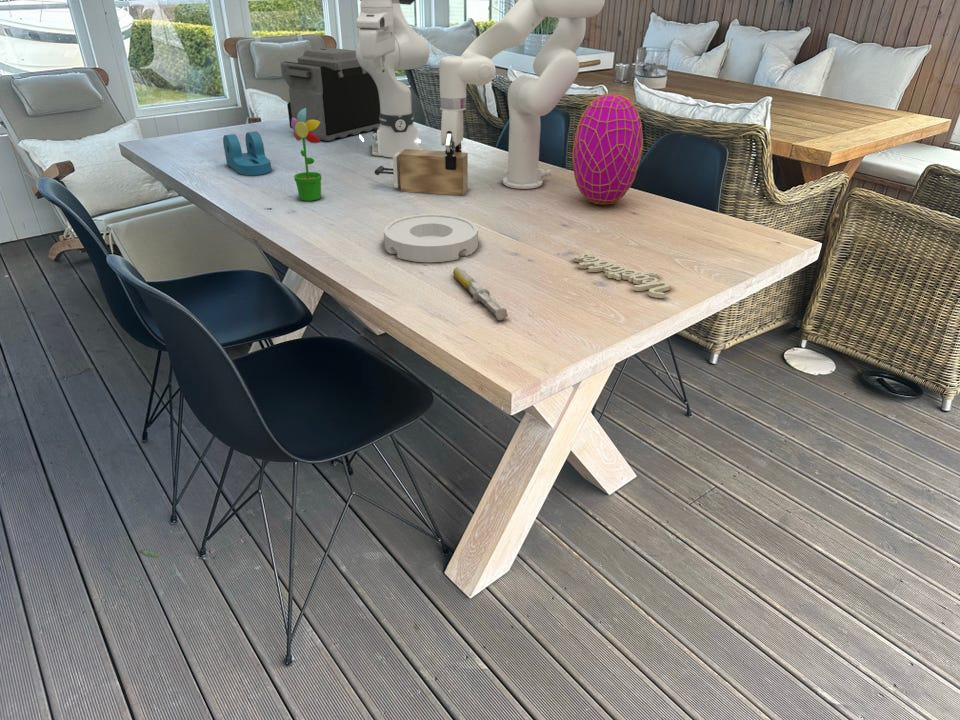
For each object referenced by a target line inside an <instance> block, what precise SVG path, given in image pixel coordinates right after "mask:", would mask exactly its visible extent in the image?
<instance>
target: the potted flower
mask: <svg viewBox="0 0 960 720" xmlns="http://www.w3.org/2000/svg"><path fill="white" fill-rule="evenodd" d="M305 122H306V108H304V109H302V110H301V111H300V112H299V113H298V115H297V120H296V119H295V118H292V121H291V126H292V128H291V129H293V132H292V134H293V137H294V138H295V139H296V141H297V142H300V141H301V140H302V147H303V149H301V150H300V155H301V156H302V157H304V165H305V171H303V172H299V173H296V174H294V175H293V179H294V182H295V185H296V188H297V193H298V197H299V199H300V200H301V201H306V202H311V201H317V200H320V199H321V197H322V180H323V179H322V178H323V177H322V174H321V173H320V172H316V171H309V165H312V164H314V163H315V159H314V158H312V157H308V156H307V148H306V141H307V142H309V143H311V144H318V143H321V142H322V140H320V139H319V138H318V137H317V136H316V135H315V134H313V133H312V132H309V131H313V130H315V129H316V128H317V127H318V126H319V124H320V121H318V120H309V121H307V122H306V123H305ZM294 129H295V131H294Z"/></svg>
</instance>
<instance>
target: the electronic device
mask: <svg viewBox="0 0 960 720" xmlns="http://www.w3.org/2000/svg"><path fill="white" fill-rule="evenodd" d="M279 64H280V71H281V72H280V73H281V76H282V77H283V79H284V81H285V83H286V85H288V95H289V101H288V102H287V104H286V105H287V114H288V122H289V128H290V129H293V128H292V126H291V121H292V118H295V119H296V120H297V115H298V113H299V112H300V111H301V110H302V109H304V108H306V122H307V121H309V120H318V121H320V124H319V126H318V127H317V128H316V129H315V130H313V131H309V132H312V133H313V134H315V135H316V136H317V137H318V138H319V139H320V140H321V141H325V142H331V141H332V142H333V141H334V140H335V139H336V138H338V139H343V138H347V137H348V136H350V135H351V136H356V135H360V134H361V133H362V132H364V133H368V132H371V131H372V130H374V128H376V130H378V127H379V125H380V123H379V113H380V101H379V93H378V89H377V86H376V83H375V81H374V80H373V78H372V77H371V75H370V74H369V73H368V72H367V71H365V70H364V69H363V68H362V67H361V66H360V65H359V63H358V61H357V58H356V49H355V50H353V49H345V48H336V47H323V48H320V49H315V48H314V49H306V50H305V51H304V52H303V55H302V56H299V57H297V62H294V61H280V63H279ZM306 122H305V123H306ZM294 131H295V129H293V132H294Z"/></svg>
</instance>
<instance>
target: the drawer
mask: <svg viewBox="0 0 960 720" xmlns="http://www.w3.org/2000/svg"><path fill="white" fill-rule="evenodd" d="M400 153H401V152H397V153H396V154H395V155H394V156H393V158H392V167H384V165H380V166H378V167H377V168H376V169H375V170H374V174H375V175H376V176H379V175H381V174H385V175H393V188H399V187H401V185H400V165H399V154H400Z"/></svg>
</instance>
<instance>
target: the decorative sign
mask: <svg viewBox="0 0 960 720" xmlns="http://www.w3.org/2000/svg"><path fill="white" fill-rule="evenodd" d="M574 262H575V263H578V269H588V270H587V272H588V273H598V272H603V273H604V276H606V277H607V278H608V279H614V280H617V281H621V279H622V280H627V281H628V282H630V283H633V284H634V285H633V291H636V292H643V291H647V290H648V293H647V294H648V296H649V297H652V298H656V299H664V298H665V295H666V292H668V291H669V290H670V289H671V283H670V282H668V281H659V279H658V272H657V271H648V272H639V271H637V270H634V269H630V268H628V267H627V266H626V267H625V266H624V265H619V264H618V263H615V262H611V261H610V260H604V258H601V257H598V256H596V255H592V254H590V253H587V252H586V253H582V254H581V255H580V256H578V255H575V256H574Z"/></svg>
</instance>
